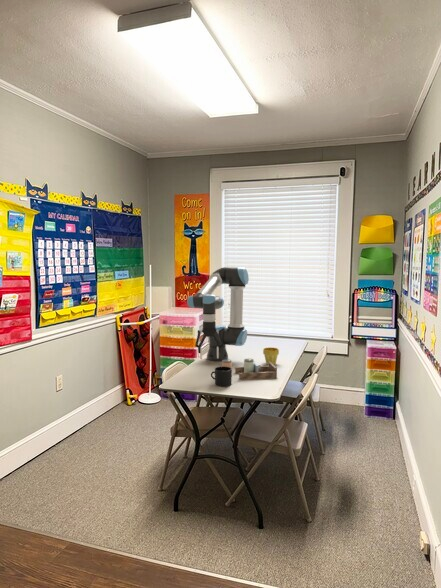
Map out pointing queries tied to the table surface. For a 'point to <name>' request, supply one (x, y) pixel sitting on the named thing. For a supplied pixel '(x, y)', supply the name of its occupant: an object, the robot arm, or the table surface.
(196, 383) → the table surface
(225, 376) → the mug
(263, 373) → the lane
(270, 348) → the plant pot
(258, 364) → the pusher
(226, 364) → the clay jar
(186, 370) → the table surface
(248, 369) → the sage jar
